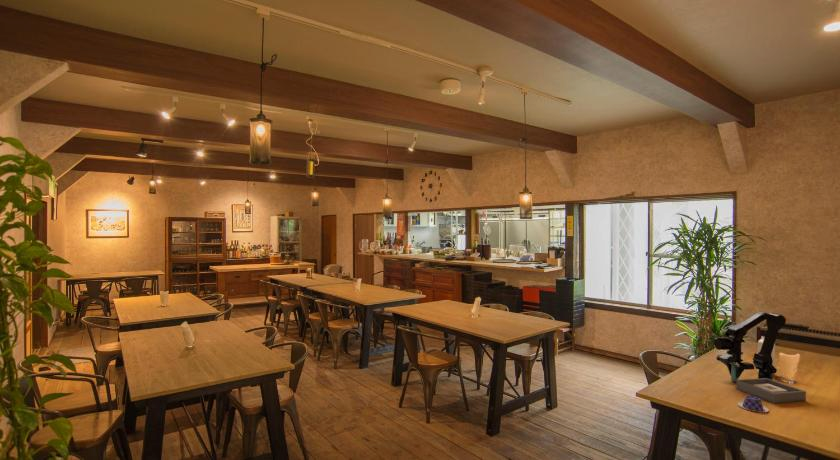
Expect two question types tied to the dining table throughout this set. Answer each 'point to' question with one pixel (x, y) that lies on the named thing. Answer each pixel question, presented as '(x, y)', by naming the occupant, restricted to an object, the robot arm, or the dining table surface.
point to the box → (771, 390)
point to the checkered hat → (753, 404)
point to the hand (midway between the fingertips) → (734, 377)
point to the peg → (733, 373)
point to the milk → (771, 353)
